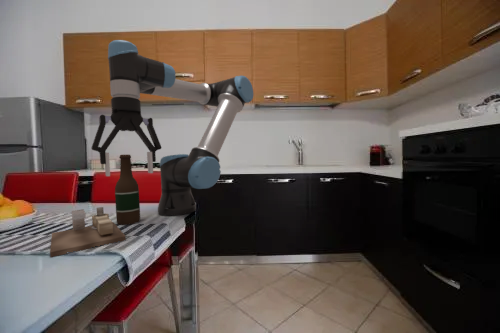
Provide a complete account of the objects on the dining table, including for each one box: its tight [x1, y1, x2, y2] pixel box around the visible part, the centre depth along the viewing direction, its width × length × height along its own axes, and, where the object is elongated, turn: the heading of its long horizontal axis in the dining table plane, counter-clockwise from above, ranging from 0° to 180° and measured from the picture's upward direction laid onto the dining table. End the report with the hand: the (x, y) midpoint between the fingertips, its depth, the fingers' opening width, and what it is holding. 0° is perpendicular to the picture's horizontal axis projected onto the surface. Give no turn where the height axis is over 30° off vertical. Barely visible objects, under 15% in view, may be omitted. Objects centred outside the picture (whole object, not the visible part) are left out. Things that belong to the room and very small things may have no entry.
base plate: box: [49, 221, 126, 258], centre depth 68 cm, size 16×19×1 cm
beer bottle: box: [114, 154, 141, 226], centre depth 84 cm, size 8×8×24 cm
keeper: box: [71, 209, 97, 231], centre depth 74 cm, size 10×7×6 cm
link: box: [91, 206, 114, 235], centre depth 71 cm, size 14×4×5 cm, turn 39°
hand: (130, 174), depth 70 cm, fingers open, 11 cm apart
